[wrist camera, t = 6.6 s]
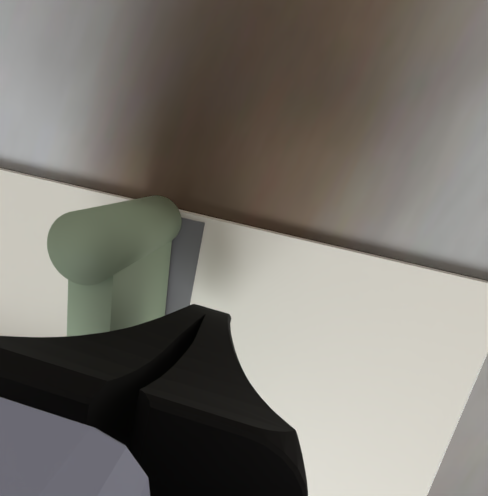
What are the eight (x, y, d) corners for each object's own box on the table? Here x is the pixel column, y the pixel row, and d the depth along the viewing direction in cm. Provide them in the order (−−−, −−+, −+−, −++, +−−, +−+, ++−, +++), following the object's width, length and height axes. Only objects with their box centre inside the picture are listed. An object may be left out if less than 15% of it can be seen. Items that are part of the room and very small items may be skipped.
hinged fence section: (154, 494, 16) (96, 630, 11) (116, 484, 16) (43, 614, 11) (184, 199, 13) (120, 217, 8) (136, 191, 13) (47, 205, 8)
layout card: (-50, 526, 19) (-59, 536, 19) (-49, 156, 14) (-60, 156, 14) (351, 659, 17) (353, 672, 17) (507, 285, 13) (516, 290, 12)
